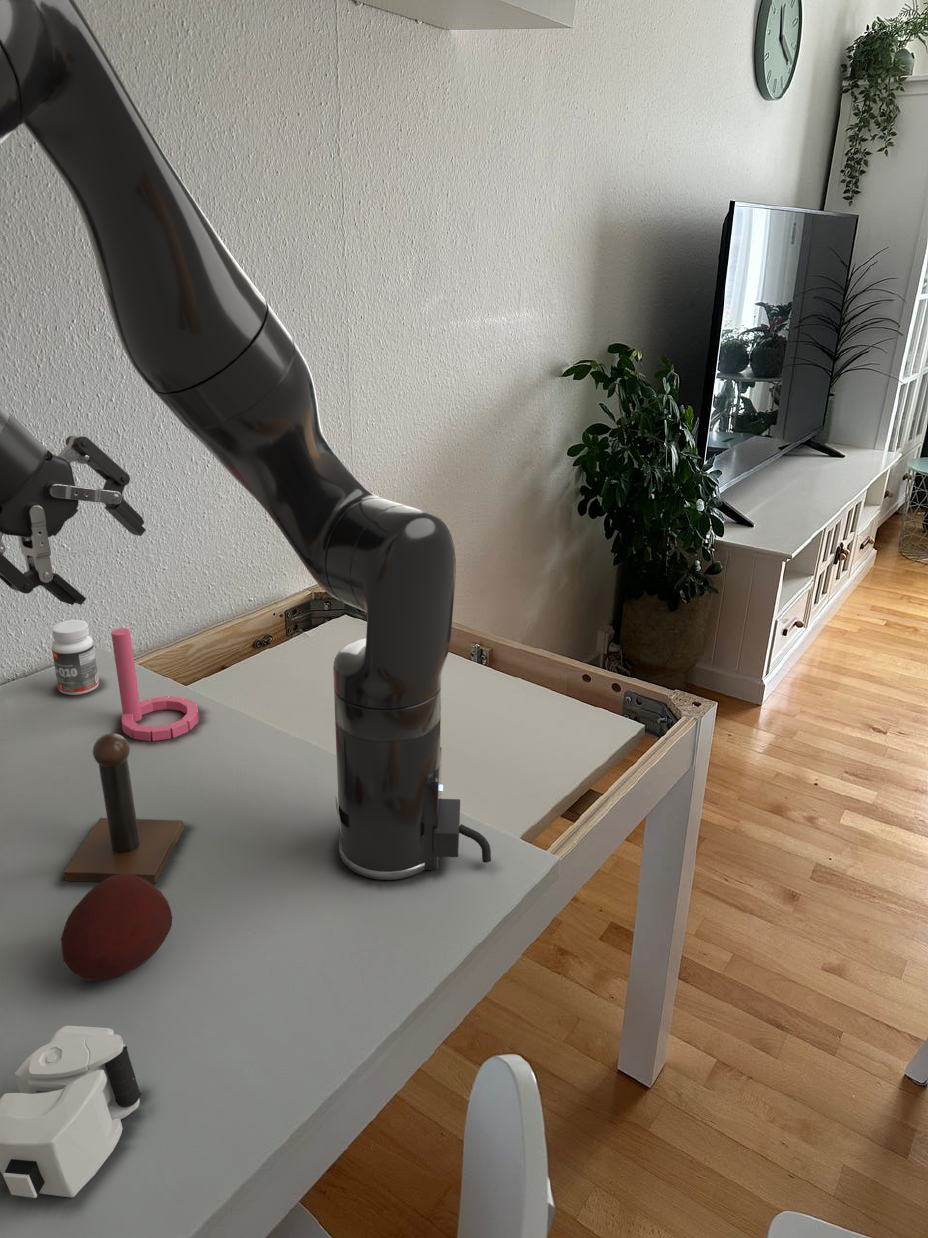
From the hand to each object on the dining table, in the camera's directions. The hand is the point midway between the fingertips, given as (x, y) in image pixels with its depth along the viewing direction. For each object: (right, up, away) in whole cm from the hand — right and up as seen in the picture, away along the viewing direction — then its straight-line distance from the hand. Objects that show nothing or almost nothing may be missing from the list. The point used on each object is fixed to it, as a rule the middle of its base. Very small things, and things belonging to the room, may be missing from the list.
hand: (110, 566), depth 84 cm
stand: (+2, -27, -2) cm, 27 cm away
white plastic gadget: (+9, -33, -24) cm, 42 cm away
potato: (+8, -32, -14) cm, 36 cm away
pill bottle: (-15, -14, +28) cm, 34 cm away
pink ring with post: (-2, -17, +20) cm, 26 cm away
